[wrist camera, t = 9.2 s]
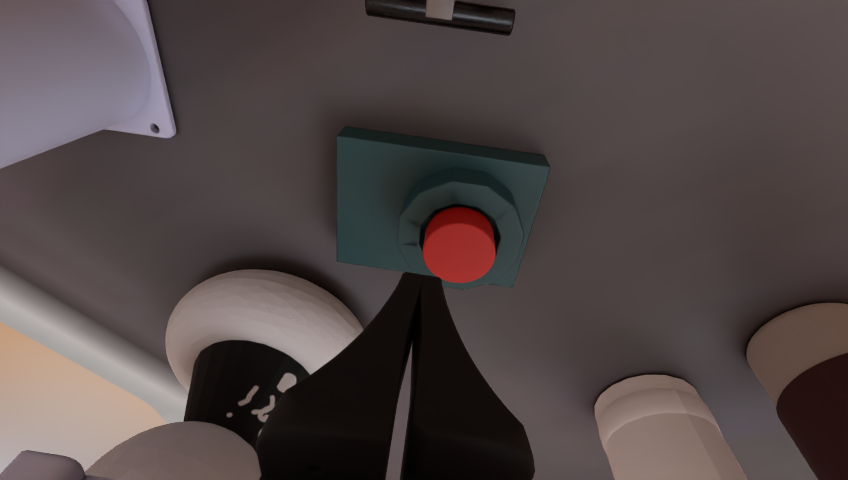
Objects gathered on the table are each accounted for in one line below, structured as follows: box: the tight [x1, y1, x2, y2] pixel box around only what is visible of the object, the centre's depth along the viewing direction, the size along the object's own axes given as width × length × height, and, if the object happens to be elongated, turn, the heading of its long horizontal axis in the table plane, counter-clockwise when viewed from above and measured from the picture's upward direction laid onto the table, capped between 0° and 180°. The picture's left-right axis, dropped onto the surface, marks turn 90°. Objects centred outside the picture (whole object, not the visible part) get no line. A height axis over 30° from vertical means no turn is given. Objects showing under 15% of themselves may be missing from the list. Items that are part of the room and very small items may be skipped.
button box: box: [336, 126, 550, 290], centre depth 22 cm, size 11×8×4 cm
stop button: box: [423, 207, 496, 283], centre depth 20 cm, size 4×4×2 cm
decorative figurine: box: [85, 269, 364, 480], centre depth 22 cm, size 15×15×20 cm
